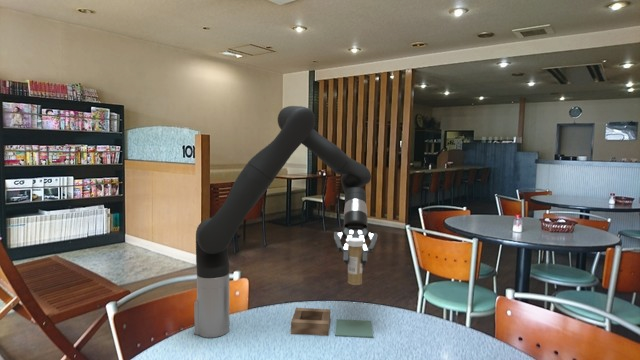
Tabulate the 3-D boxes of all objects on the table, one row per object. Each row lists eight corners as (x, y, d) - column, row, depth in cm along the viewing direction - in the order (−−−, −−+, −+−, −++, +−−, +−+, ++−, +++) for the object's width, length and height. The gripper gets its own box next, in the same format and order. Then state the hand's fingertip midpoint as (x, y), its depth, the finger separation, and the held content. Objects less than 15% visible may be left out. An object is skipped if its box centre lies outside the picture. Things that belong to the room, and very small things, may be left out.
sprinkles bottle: (365, 283, 117) (366, 239, 116) (353, 286, 115) (354, 241, 114) (355, 279, 121) (356, 236, 120) (344, 282, 118) (344, 238, 118)
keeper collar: (290, 333, 114) (290, 322, 114) (296, 318, 125) (296, 307, 125) (328, 335, 114) (328, 324, 113) (330, 319, 125) (330, 309, 124)
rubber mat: (335, 336, 113) (335, 334, 113) (336, 320, 124) (336, 319, 124) (373, 337, 113) (373, 336, 113) (371, 321, 124) (371, 320, 124)
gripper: (333, 208, 124) (330, 256, 113) (378, 209, 123) (380, 257, 112) (333, 222, 130) (331, 268, 119) (377, 223, 129) (378, 270, 118)
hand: (355, 263), depth 115 cm, fingers closed on sprinkles bottle, 4 cm apart
